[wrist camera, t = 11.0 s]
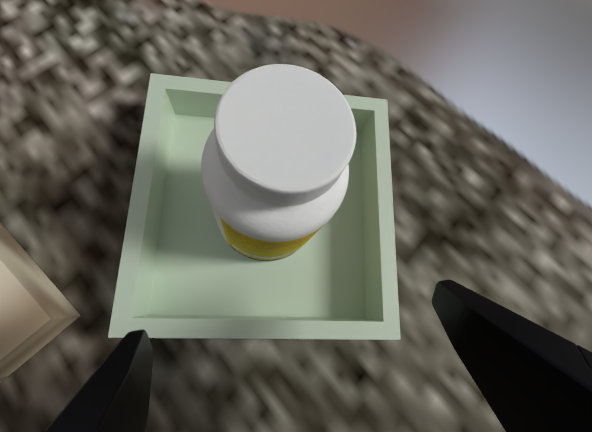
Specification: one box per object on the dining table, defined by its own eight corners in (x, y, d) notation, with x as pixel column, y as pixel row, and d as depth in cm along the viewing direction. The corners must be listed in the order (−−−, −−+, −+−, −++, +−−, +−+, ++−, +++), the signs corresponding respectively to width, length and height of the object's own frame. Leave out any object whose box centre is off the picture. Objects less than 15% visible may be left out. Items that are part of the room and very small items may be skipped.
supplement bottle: (329, 233, 18) (417, 167, 9) (246, 281, 17) (244, 261, 8) (284, 156, 19) (320, 19, 10) (200, 195, 18) (147, 80, 8)
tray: (376, 332, 18) (400, 339, 15) (133, 330, 16) (107, 337, 13) (368, 126, 21) (387, 99, 18) (165, 106, 19) (150, 73, 16)
